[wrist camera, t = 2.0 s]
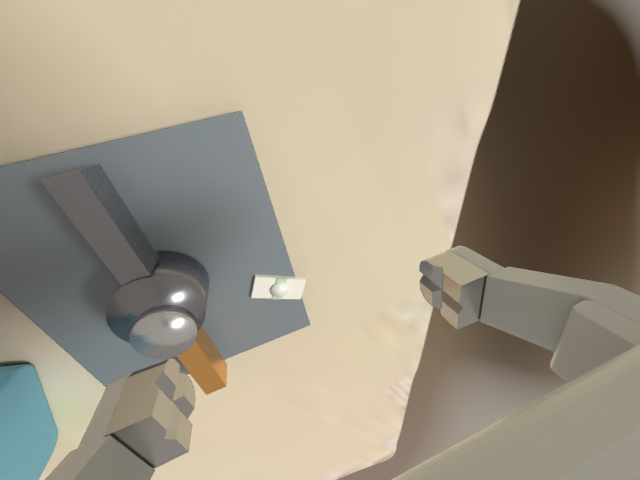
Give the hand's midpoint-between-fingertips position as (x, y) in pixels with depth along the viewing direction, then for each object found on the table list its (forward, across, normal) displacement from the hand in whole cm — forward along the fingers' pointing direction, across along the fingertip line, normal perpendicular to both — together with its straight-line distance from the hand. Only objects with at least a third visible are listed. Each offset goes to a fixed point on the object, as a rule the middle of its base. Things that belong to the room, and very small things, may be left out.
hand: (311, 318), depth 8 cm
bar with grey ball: (+14, +10, +5) cm, 18 cm away
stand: (+16, +10, +5) cm, 19 cm away
